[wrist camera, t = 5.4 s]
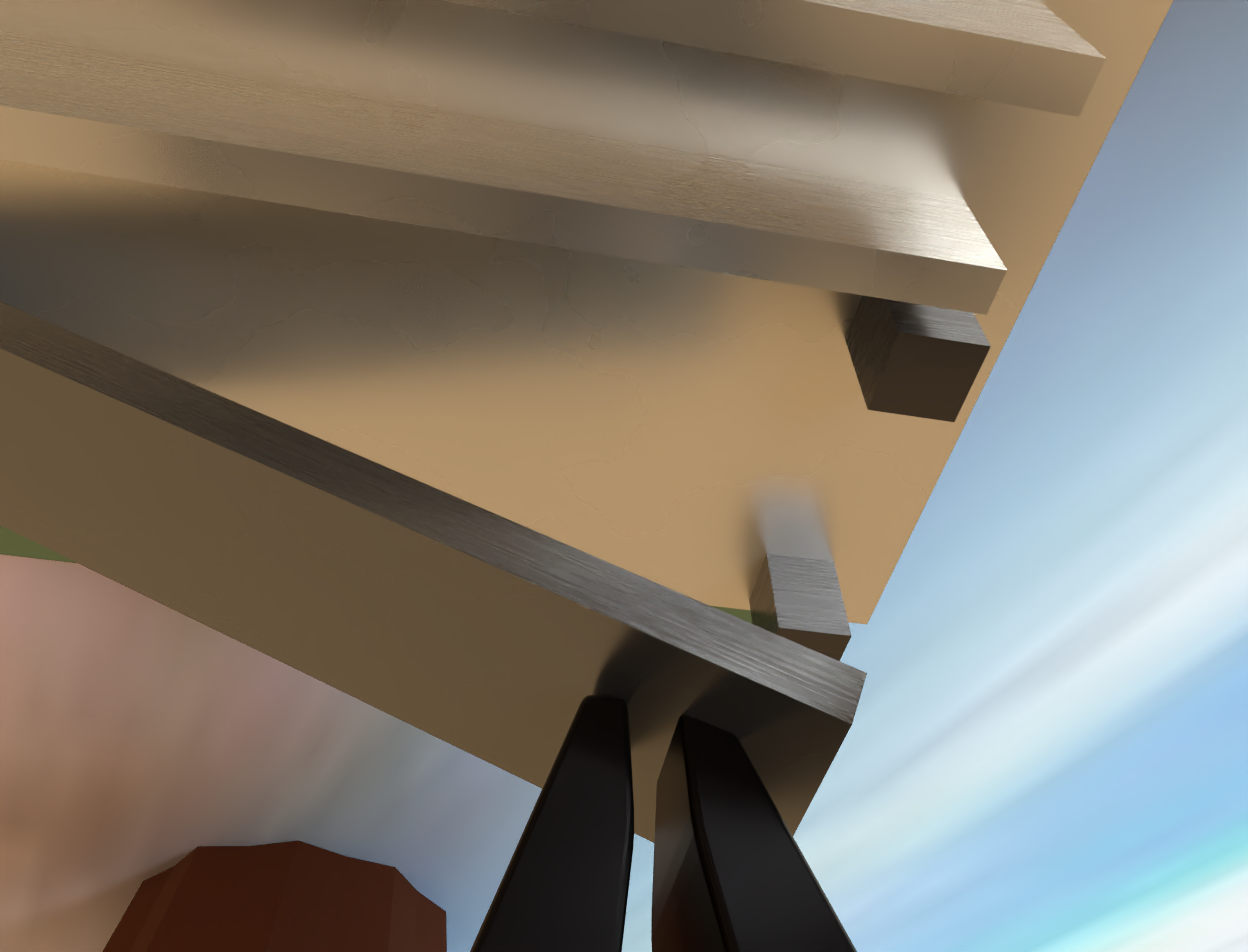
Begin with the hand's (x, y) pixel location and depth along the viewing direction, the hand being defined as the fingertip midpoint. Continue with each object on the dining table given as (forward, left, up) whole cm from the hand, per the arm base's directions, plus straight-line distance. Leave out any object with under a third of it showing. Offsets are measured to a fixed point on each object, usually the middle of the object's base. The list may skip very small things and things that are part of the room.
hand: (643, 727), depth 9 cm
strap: (+4, 0, -2) cm, 5 cm away
